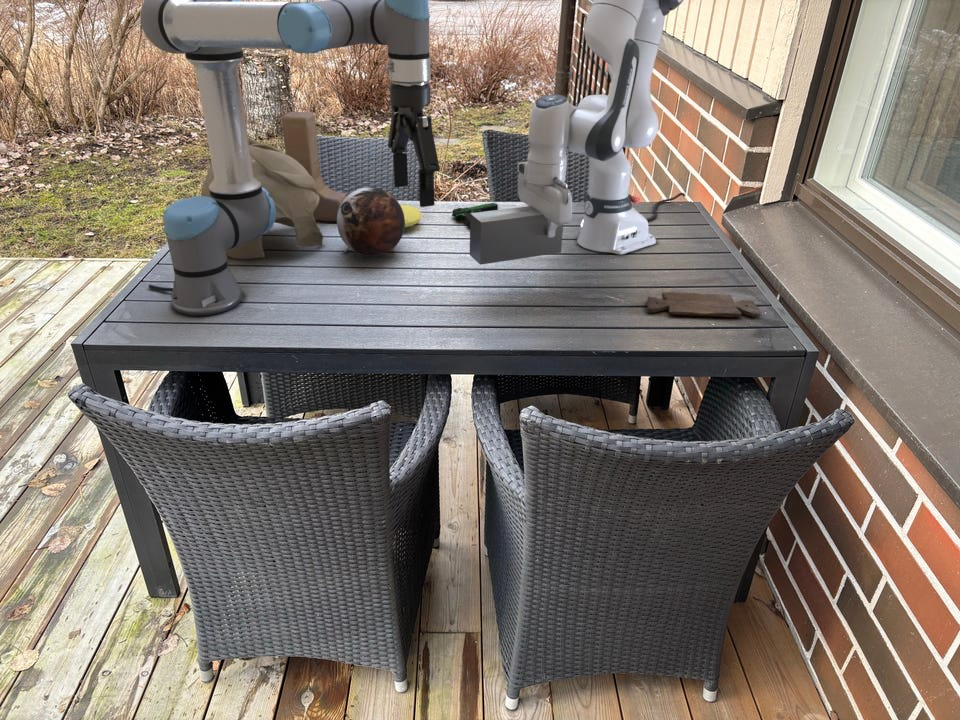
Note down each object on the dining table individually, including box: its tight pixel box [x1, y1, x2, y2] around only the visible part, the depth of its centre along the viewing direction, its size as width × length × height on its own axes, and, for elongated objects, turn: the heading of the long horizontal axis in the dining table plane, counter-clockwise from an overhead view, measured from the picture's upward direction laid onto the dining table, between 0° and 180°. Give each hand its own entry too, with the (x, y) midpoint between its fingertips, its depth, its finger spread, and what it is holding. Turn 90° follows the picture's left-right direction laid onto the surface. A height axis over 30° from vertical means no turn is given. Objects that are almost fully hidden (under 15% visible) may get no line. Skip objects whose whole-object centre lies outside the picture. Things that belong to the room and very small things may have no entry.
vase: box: [400, 204, 423, 229], centre depth 210 cm, size 16×16×7 cm
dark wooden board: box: [646, 291, 762, 318], centre depth 167 cm, size 26×2×10 cm
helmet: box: [200, 137, 324, 260], centre depth 189 cm, size 27×30×30 cm
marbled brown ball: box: [336, 186, 406, 257], centre depth 189 cm, size 22×18×20 cm
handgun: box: [451, 202, 499, 229], centre depth 216 cm, size 16×3×15 cm
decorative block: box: [280, 111, 348, 223], centre depth 209 cm, size 8×15×30 cm, turn 82°
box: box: [469, 205, 564, 266], centre depth 165 cm, size 21×6×10 cm, turn 113°
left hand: (413, 195), depth 142 cm, fingers open, 13 cm apart
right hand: (542, 230), depth 168 cm, fingers closed on box, 6 cm apart
